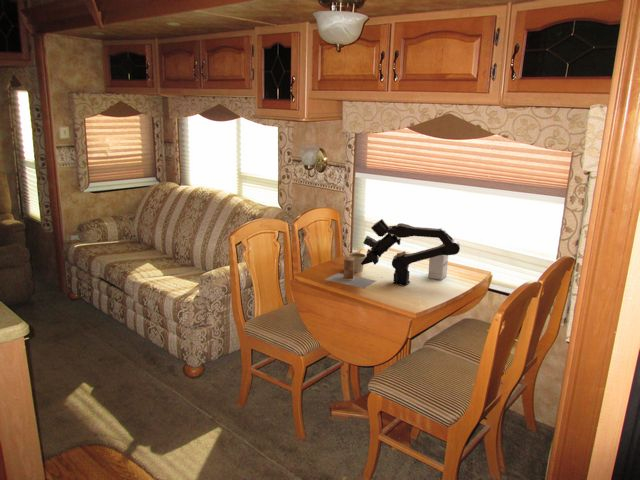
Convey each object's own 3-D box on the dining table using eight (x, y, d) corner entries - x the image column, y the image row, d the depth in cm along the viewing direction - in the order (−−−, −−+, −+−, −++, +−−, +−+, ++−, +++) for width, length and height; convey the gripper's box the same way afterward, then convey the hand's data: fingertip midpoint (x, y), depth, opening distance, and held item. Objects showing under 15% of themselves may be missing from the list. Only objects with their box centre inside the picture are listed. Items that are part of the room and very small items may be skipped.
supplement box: (442, 280, 254) (443, 255, 250) (427, 277, 257) (429, 253, 254) (447, 276, 260) (448, 252, 257) (433, 273, 264) (434, 249, 260)
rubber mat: (376, 281, 251) (376, 280, 251) (364, 289, 240) (364, 288, 240) (337, 273, 262) (337, 272, 262) (324, 280, 252) (324, 279, 252)
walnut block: (354, 277, 256) (354, 257, 253) (352, 280, 251) (353, 260, 249) (345, 276, 256) (345, 257, 254) (343, 279, 252) (344, 259, 250)
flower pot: (344, 272, 264) (344, 256, 262) (351, 267, 272) (352, 251, 270) (361, 275, 260) (361, 258, 258) (368, 270, 268) (368, 254, 266)
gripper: (375, 226, 254) (352, 247, 259) (371, 235, 237) (347, 257, 242) (391, 243, 255) (368, 263, 260) (388, 253, 237) (363, 274, 242)
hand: (361, 264), depth 251 cm, fingers closed
